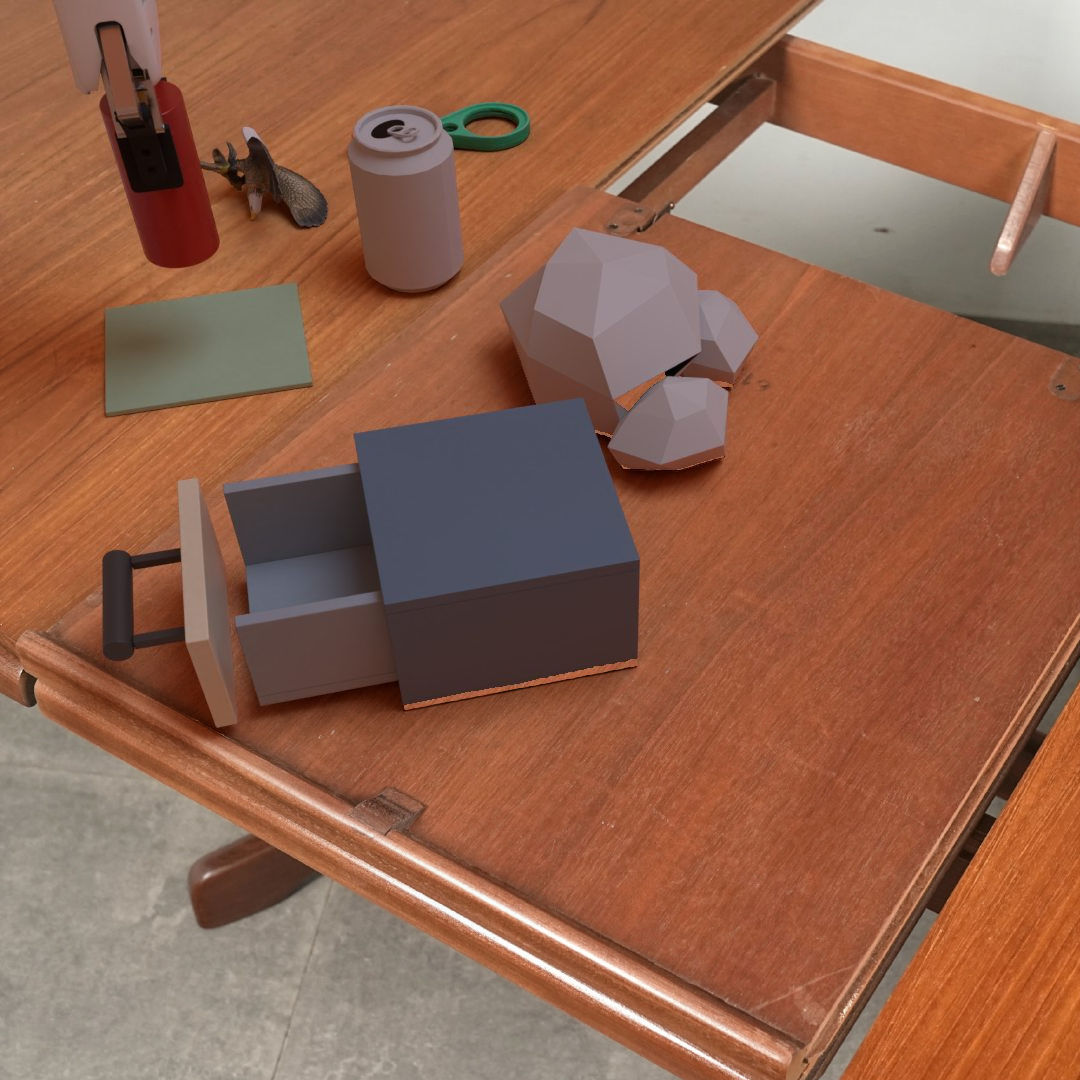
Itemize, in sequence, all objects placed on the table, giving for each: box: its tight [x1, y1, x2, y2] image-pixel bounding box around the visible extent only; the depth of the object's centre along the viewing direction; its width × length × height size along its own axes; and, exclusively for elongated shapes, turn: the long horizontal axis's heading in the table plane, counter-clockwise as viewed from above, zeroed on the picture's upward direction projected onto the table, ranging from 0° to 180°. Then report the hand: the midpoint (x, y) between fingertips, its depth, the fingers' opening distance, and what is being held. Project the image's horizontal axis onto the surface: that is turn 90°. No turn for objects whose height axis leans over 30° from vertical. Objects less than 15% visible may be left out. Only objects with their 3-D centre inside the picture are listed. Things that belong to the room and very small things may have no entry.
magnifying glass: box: [350, 101, 531, 152], centre depth 117 cm, size 15×6×2 cm, turn 108°
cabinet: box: [352, 398, 641, 706], centre depth 79 cm, size 14×14×9 cm
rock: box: [498, 226, 760, 471], centre depth 92 cm, size 18×20×10 cm
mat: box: [104, 282, 314, 418], centre depth 99 cm, size 14×12×1 cm
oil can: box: [98, 76, 221, 269], centre depth 88 cm, size 5×5×12 cm
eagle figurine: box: [199, 126, 329, 228], centre depth 108 cm, size 8×7×9 cm
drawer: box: [101, 462, 399, 728], centre depth 77 cm, size 17×12×7 cm
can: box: [346, 104, 465, 294], centre depth 101 cm, size 8×8×12 cm
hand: (156, 160), depth 88 cm, fingers closed on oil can, 5 cm apart
